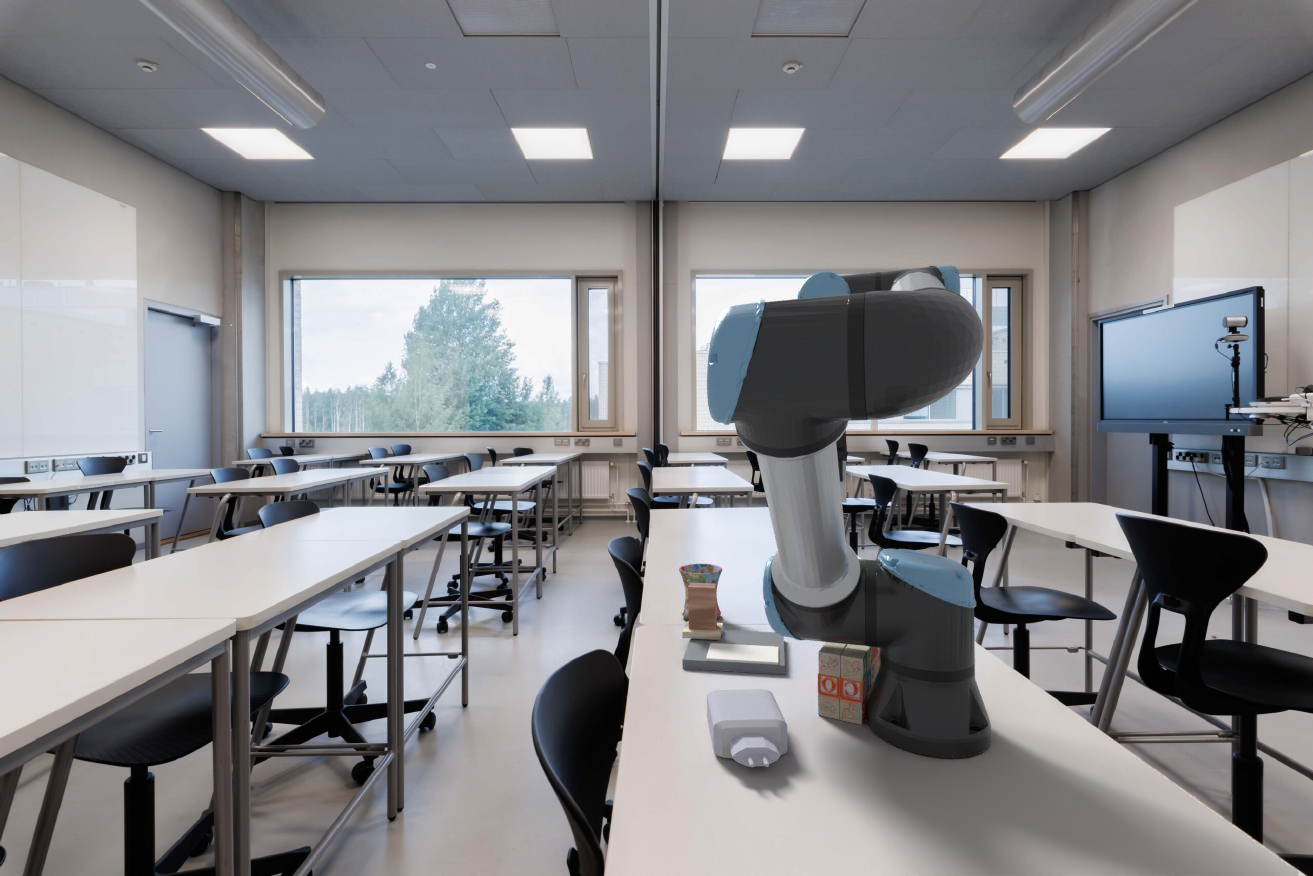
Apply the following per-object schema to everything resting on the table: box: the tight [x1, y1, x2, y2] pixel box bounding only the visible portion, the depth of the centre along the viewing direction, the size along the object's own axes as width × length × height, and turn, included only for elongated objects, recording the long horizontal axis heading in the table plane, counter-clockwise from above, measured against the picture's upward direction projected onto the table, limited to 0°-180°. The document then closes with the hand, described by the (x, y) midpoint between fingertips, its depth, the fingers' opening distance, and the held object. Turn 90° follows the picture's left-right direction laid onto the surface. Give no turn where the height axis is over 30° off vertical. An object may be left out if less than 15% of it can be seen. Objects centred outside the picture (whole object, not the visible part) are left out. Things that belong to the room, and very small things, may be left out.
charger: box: [706, 688, 789, 768], centre depth 77 cm, size 5×9×15 cm
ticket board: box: [681, 629, 786, 676], centre depth 109 cm, size 16×17×2 cm
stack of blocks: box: [817, 642, 880, 725], centre depth 93 cm, size 21×6×12 cm, turn 150°
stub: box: [681, 583, 724, 640], centre depth 115 cm, size 6×7×9 cm
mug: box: [678, 563, 723, 620], centre depth 132 cm, size 12×9×11 cm
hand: (833, 497), depth 102 cm, fingers open, 13 cm apart
